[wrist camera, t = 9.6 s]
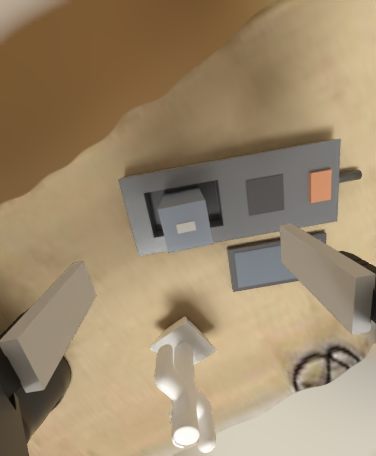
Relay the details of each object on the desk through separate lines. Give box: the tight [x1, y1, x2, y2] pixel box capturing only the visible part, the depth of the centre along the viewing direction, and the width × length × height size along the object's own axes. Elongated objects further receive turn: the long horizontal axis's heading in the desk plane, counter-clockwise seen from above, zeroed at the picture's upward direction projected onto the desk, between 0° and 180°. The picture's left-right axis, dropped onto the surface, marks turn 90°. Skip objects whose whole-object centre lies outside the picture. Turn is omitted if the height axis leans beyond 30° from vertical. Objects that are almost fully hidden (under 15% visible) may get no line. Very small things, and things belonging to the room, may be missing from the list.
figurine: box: [149, 316, 216, 453], centre depth 30 cm, size 7×9×15 cm
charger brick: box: [158, 186, 213, 253], centre depth 26 cm, size 4×4×9 cm
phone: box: [227, 231, 326, 292], centre depth 34 cm, size 14×7×1 cm, turn 100°
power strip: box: [118, 139, 362, 256], centre depth 29 cm, size 30×10×4 cm, turn 100°
